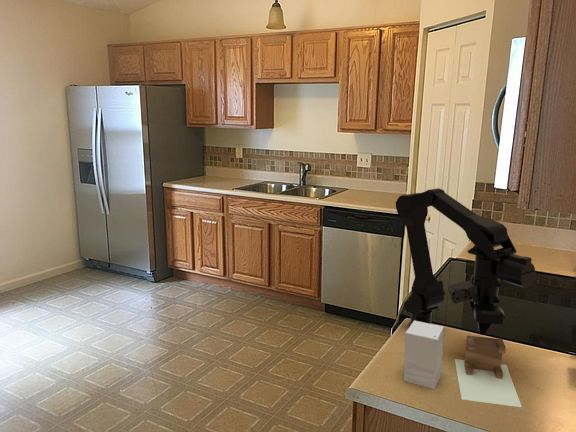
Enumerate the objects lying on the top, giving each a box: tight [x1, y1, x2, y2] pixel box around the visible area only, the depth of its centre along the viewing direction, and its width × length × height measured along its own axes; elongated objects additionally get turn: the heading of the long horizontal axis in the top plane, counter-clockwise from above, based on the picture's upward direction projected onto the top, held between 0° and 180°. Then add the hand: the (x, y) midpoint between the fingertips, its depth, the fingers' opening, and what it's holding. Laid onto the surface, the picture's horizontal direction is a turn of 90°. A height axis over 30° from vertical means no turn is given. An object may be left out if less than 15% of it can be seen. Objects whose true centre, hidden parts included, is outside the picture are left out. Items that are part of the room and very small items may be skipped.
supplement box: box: [403, 320, 445, 390], centre depth 108 cm, size 7×7×13 cm
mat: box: [454, 358, 522, 408], centre depth 108 cm, size 17×12×1 cm
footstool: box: [464, 335, 507, 379], centre depth 111 cm, size 4×8×8 cm, turn 76°
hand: (481, 333), depth 116 cm, fingers closed
